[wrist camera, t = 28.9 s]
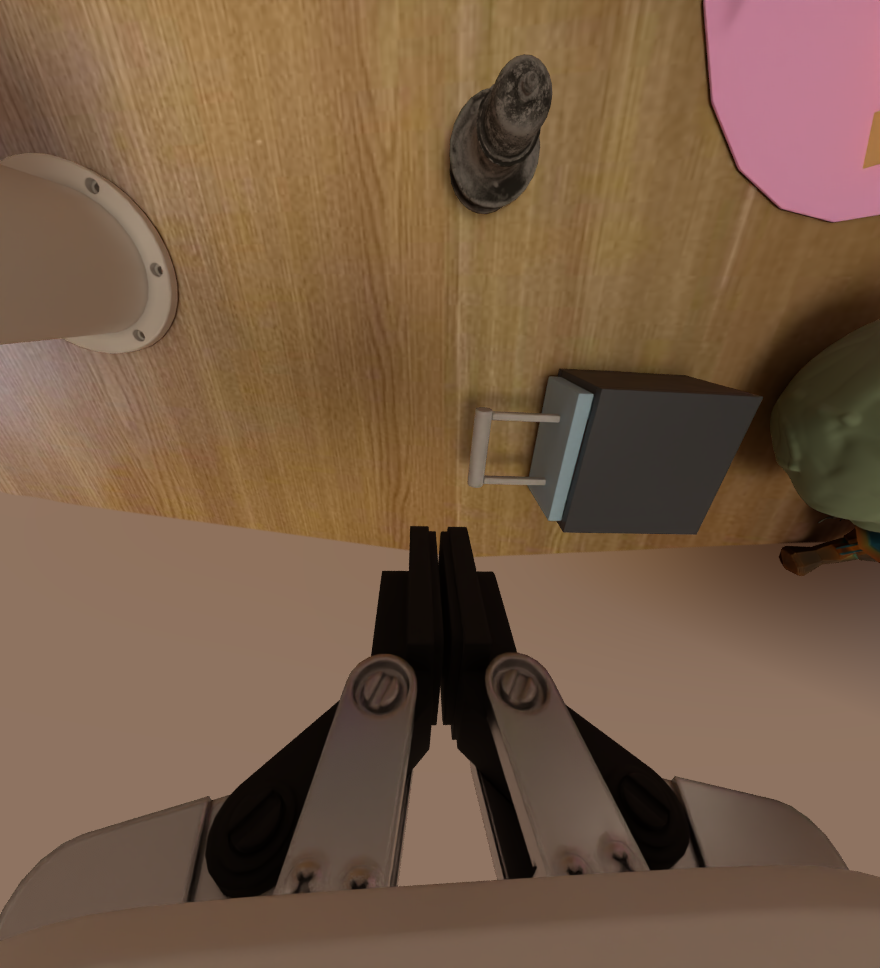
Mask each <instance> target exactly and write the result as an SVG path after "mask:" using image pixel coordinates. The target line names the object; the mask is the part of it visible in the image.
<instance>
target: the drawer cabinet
mask: <svg viewBox="0 0 880 968" xmlns="http://www.w3.org/2000/svg"><path fill="white" fill-rule="evenodd" d="M558 377H562V378H564V379H566V380H568V381H570V382H572V383H573V384H575V385H577V386H579V387H581V388H583V389H585V390H587V391H589V392H591V393H592V394H594V397H595V398H594V402H593V406H592V409H591V413H590V417H589V421H588V424H587V428H586V432H585V436H584V440H583V443H582V447H581V451H580V455H579V458H578V462H577V466H576V470H575V474H574V477H573V481H572V485H571V489H570V493H569V496H568V500H567V501H566V503H565V507H564V511H563V515H562V519H561V521H557V523H558V524H559V526H560V528H561V529H562V531H563V532H576V533H638V534H697V532H698V530H699V528H700V526H701V524H702V522H703V520H704V518H705V516H706V514H707V512H708V510H709V508H710V506H711V503H712V501H713V499H714V497H715V495H716V493H717V491H718V489H719V487H720V485H721V483H722V481H723V479H724V477H725V475H726V473H727V471H728V469H729V467H730V464H731V462H732V460H733V458H734V456H735V454H736V452H737V450H738V448H739V446H740V444H741V442H742V440H743V438H744V436H745V434H746V432H747V430H748V428H749V425H750V423H751V421H752V419H753V417H754V415H755V413H756V411H757V409H758V407H759V405H760V403H761V401H762V399H763V397H762V396H758V395H755V394H751V393H747V392H743V391H740V390H736V389H733V388H729V387H725V386H722V385H718V384H714V383H711V382H707V381H704V380H700V379H696V378H693V377H689V376H686V375H669V374H650V373H632V372H614V371H595V370H577V369H559V373H558Z"/></svg>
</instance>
